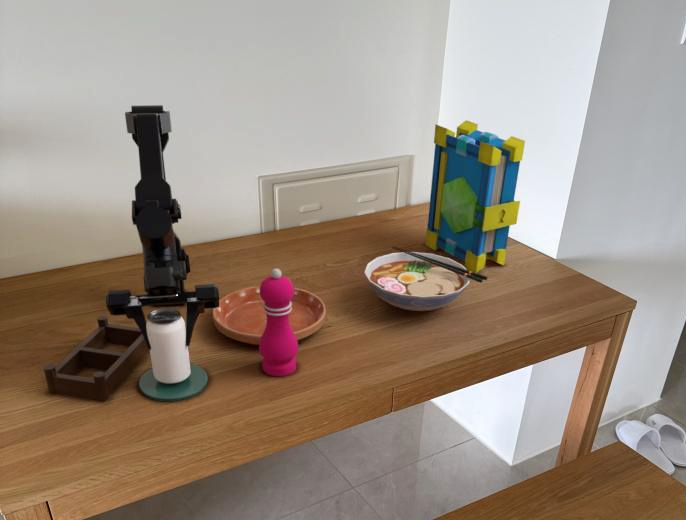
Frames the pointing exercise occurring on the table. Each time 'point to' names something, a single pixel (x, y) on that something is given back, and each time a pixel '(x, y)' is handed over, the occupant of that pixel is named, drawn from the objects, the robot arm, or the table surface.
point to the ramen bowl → (418, 279)
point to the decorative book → (473, 194)
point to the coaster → (174, 386)
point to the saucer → (250, 319)
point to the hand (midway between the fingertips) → (168, 347)
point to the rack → (98, 362)
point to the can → (168, 345)
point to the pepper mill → (278, 326)
